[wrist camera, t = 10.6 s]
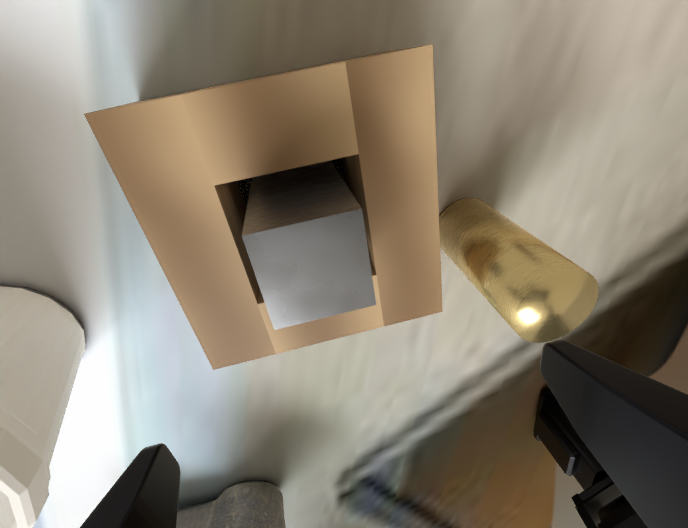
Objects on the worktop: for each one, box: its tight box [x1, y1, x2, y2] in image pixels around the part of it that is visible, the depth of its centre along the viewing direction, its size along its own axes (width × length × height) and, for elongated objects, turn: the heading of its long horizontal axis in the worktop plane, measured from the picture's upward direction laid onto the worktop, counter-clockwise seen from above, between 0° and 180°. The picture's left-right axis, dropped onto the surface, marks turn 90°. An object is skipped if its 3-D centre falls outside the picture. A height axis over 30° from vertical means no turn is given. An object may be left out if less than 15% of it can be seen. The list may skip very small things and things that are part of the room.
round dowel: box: [439, 198, 599, 343], centre depth 17 cm, size 4×4×8 cm
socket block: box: [84, 45, 442, 370], centre depth 16 cm, size 11×11×5 cm
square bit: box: [242, 160, 376, 330], centre depth 15 cm, size 4×4×8 cm
